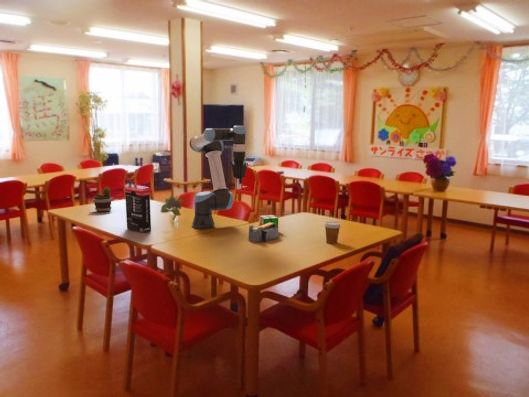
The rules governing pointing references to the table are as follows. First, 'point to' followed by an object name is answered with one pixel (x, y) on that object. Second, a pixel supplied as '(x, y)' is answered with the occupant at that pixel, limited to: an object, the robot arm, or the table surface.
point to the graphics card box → (138, 209)
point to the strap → (262, 226)
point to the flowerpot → (103, 201)
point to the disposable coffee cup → (332, 232)
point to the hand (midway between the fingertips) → (239, 188)
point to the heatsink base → (263, 233)
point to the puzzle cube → (268, 220)
